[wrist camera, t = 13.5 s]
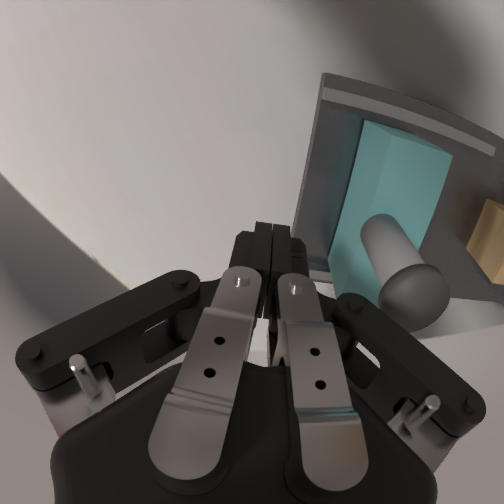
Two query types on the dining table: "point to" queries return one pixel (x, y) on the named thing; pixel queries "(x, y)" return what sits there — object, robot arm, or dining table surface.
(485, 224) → the block
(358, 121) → the frame
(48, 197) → the dining table surface
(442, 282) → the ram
